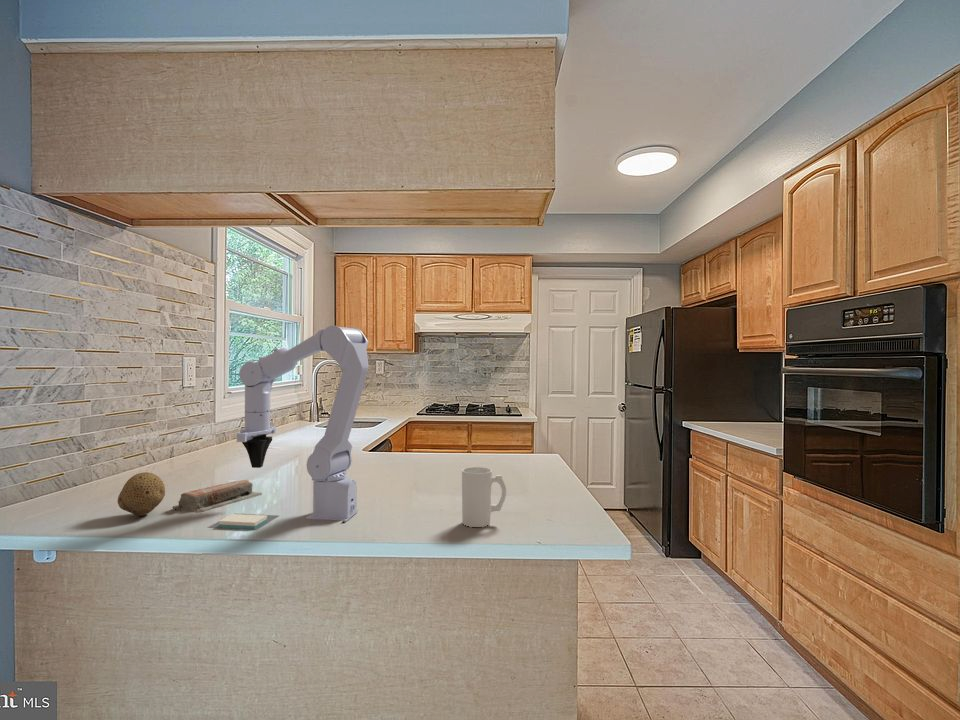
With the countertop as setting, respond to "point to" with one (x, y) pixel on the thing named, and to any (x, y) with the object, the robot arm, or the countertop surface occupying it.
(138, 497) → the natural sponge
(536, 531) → the countertop surface
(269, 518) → the mat
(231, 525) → the tile
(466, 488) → the mug
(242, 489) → the old brick
